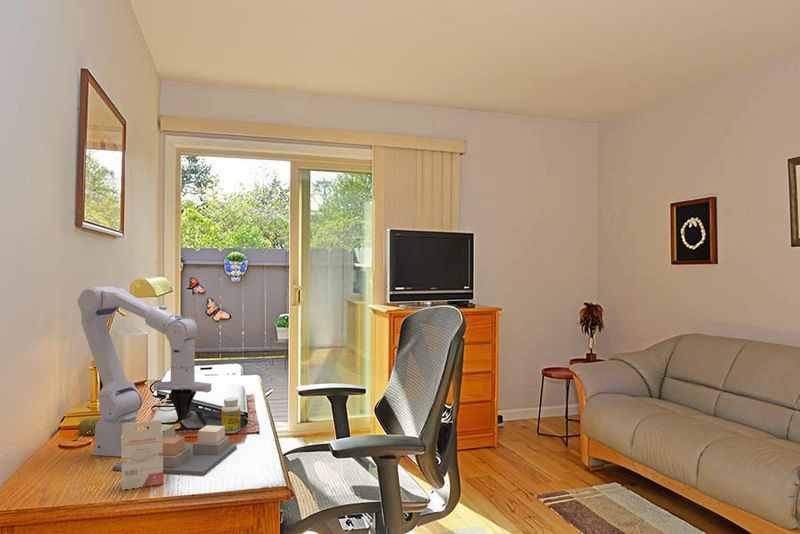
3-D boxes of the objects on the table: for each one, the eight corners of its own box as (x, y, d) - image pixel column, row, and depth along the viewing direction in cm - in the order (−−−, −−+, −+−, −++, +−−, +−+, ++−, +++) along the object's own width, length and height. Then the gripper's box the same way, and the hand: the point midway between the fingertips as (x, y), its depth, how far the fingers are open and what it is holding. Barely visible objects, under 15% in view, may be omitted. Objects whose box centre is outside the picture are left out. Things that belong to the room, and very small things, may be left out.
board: (112, 470, 135) (112, 455, 135) (156, 444, 154) (156, 431, 154) (203, 475, 132) (203, 460, 132) (236, 448, 151) (236, 435, 151)
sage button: (146, 443, 146) (146, 429, 145) (157, 437, 151) (157, 424, 150) (164, 444, 145) (164, 430, 145) (174, 438, 150) (174, 425, 150)
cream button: (197, 444, 145) (197, 430, 145) (206, 438, 150) (206, 425, 150) (216, 445, 144) (216, 431, 144) (224, 439, 149) (224, 426, 149)
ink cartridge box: (162, 477, 131) (163, 414, 131) (163, 485, 127) (163, 420, 127) (121, 482, 128) (122, 418, 128) (120, 491, 123) (120, 424, 123)
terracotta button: (154, 456, 136) (154, 442, 136) (165, 449, 141) (165, 435, 141) (174, 457, 135) (174, 443, 135) (184, 450, 140) (184, 436, 140)
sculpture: (102, 422, 161) (72, 423, 160) (102, 436, 161) (72, 437, 160) (113, 415, 168) (85, 415, 168) (113, 428, 169) (85, 429, 168)
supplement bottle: (234, 427, 170) (235, 395, 170) (243, 431, 166) (243, 399, 166) (218, 431, 166) (218, 398, 166) (226, 435, 163) (226, 402, 162)
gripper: (147, 368, 140) (147, 422, 141) (202, 370, 139) (202, 424, 139) (162, 363, 147) (161, 414, 148) (215, 364, 146) (214, 416, 146)
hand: (182, 419), depth 144 cm, fingers closed
